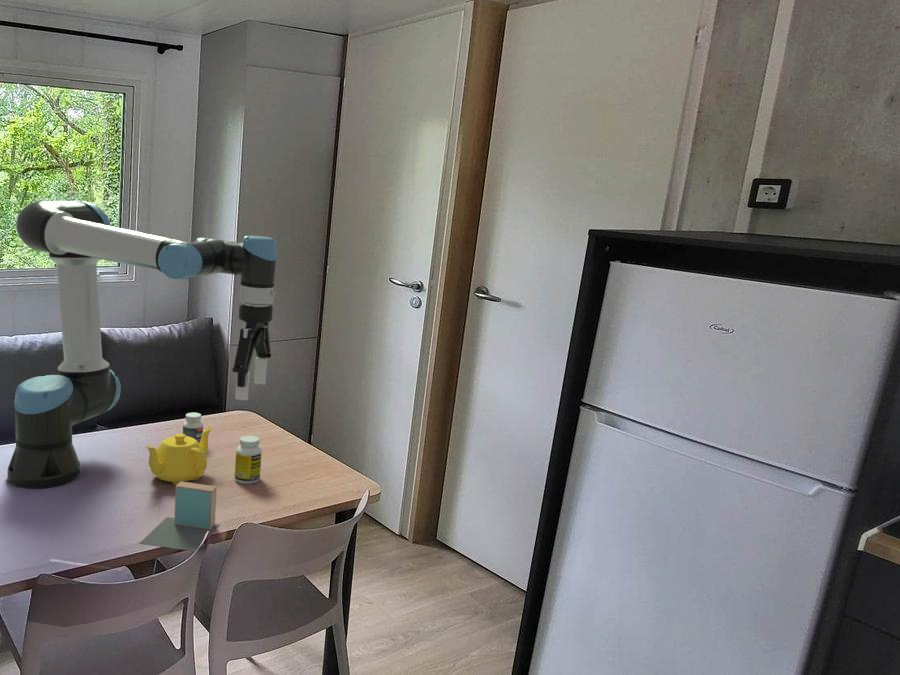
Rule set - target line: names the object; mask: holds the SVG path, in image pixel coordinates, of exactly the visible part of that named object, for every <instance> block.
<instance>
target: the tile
mask: <svg viewBox="0 0 900 675" xmlns="http://www.w3.org/2000/svg"><path fill="white" fill-rule="evenodd" d="M217 489H218V488H217V485H216V486H215V485H210V484H201V483H195V482H189V481H184V482H180V483H178V484H177V485H175V491H174V492H175V493H174V495H175V498H174V518H175V521H174V525H181V526H188V527H195V528H202V529H209V530H211V528H212V527H213V526H214V525H215V524H216V509H217V508H216V507H217V506H216V505H217Z"/></svg>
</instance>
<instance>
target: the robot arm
mask: <svg viewBox="0 0 900 675" xmlns="http://www.w3.org/2000/svg"><path fill="white" fill-rule="evenodd" d="M15 226H16V232H17V235H18V236H19V238H20V240H21V241H22V242H23V243H24V244H25V245H26V246H27V247H29V248H31V249H32V250H35V251H38V252H42V253H43V252H44V253H48V256H49V257H48V258H49V259H50V260H51V261H53V262H54V263H55V264H56V268H57V269H56V270H57V284H58V295H59V296H58V297H59V310H60V312H59V313H60V322H61V326H60V327H61V334H62V335H61V337H62V350H63V351H62V352H63V361H62V362H61V363H60V364H59V365H58V366H57V374H46V375H44V376H41V375H38V376H35V377H34V376H33V377H31V378H28V379H27V380H24V381H23V382H21V383H19V385H18V386H17V387H16V389H15V397H14V398H15V399H14V403H13V404H14V405H13V406H14V422H15V423H14V424H15V426H14V428H15V429H14V430H15V448H14V451H13V453H12V457H11V459H10V462H9V464H8V467H7V482H9V484H11V485H13V486H15V487H20V488H26V489H43V488H45V489H46V488H52V487H56V486H61V485H64V484H68V483H70V482H72V481H74V480H75V479H77V478H78V477H79V476H80V474H81V463H80V460H79V458H78V454H77V451H76V449H75V447H74V445H73V444H74V443H73V426H75V425H77V424H80V423H82V422H84V421H87V420H89V419H92V418H96V417H98V416H101V415H103V414H105V413H106V412H108V411H110V410H111V409H112V408H114V407H115V406H116V404H117V403H118V401H119V399H120V396H121V393H122V392H121V391H122V390H121V387H122V386H121V382H120V379H119V377H118V376H116V373H115V372H114V371H113V370H112V369H110V363H109V362H108V361H107V360H106V359H104V358H103V347H102V332H101V318H100V316H101V315H100V301H99V299H100V298H99V284H98V270H97V264H98V263H99V261H100V260H104V261H109V262H113V263H117V264H122V265H128V266H132V267H136V268H140V269H141V268H142V269H146V270H151V271H156V272H160V273H162V274H164V275H165V276H166V277H168V278H170V279H171V280H189V279H191V278H197V277H202V276H208V275H215V274H227V275H235V276H240V285H239V298H238V299H239V301H240V302H241V303H240V304H239V305H238V307H239V308H238V318H239V320H240V321H242V322H244V323H246V325H245V327H244V328H240V330H239V331H240V332H239V339H238V344H237V350H236V354H235V360H234V363H233V368H232V372H233V373H236V378H235V396H234V399H235V400H239V401H245V402H246V401H249V386H250V385H249V384H250V372H249V369H250V366H251V362H252V359H253V354H254V351H255V354H256V357H255V359H254V374H253V375H254V376H253V384H257V385H266V382H267V381H266V380H267V369H268V368H267V367H268V359H272V358H271V357H272V353H271V343H270V331H269V323H270V322H272V321H273V311H274V310H273V309H274V306H273V305H272V304H273V303H274V296H276V294H277V293H276V291H275V290H274V289H275V278H276V277H275V276H276V268H277V266H276V265H277V260H278V259H277V258H278V257H277V241H276V240H275V239H274V238H272V237H270V236H269V237H268V236H262V235H251V234H250V235H245V236H244V237H243V238H242V242H237V241H229V240H225V239H218V238H215V237H198V238H196V240H195V241H184V240H178V239H174V238H172V239H171V238H170V237H169V238H168V237H166V236H160V235H155V234H149V233H144V232H141V231H137V230H131V229H127V228H126V229H125V228H121V227H117V226H113V225H111V221H110V219H109V217H108V215H107V213H106V212H105V211H104V210H102V208H101V207H100V206H99V205H97V204H95V203H93V202H89V201H83V200H82V201H81V200H39V201H34V202H31V203H30V204H28V205H26V206H25V207H23V209H22V210H20V212H19V213H18V216H17V219H16V225H15Z"/></svg>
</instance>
